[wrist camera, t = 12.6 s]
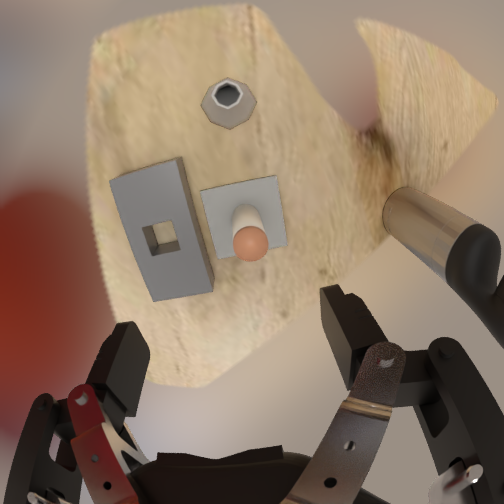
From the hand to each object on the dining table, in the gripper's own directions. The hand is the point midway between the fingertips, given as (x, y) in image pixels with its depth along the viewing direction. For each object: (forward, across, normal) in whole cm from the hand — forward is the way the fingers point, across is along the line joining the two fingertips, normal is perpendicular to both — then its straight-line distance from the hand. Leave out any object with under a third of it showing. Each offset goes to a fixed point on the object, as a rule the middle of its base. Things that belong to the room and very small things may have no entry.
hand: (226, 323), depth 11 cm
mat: (+30, -1, +6) cm, 31 cm away
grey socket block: (+30, +11, +5) cm, 32 cm away
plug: (+30, -1, +6) cm, 30 cm away
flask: (+30, -2, -11) cm, 32 cm away
